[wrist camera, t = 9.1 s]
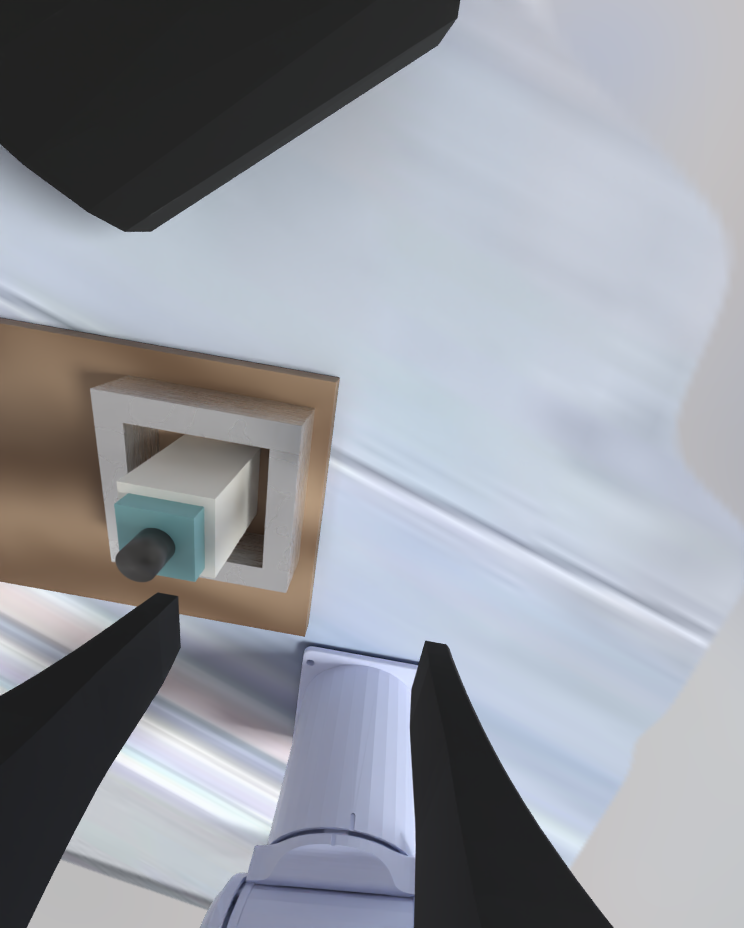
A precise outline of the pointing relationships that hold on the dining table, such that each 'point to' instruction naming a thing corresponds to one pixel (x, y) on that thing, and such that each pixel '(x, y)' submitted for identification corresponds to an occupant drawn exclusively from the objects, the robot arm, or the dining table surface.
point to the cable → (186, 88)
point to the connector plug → (186, 509)
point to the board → (79, 479)
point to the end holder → (222, 418)
